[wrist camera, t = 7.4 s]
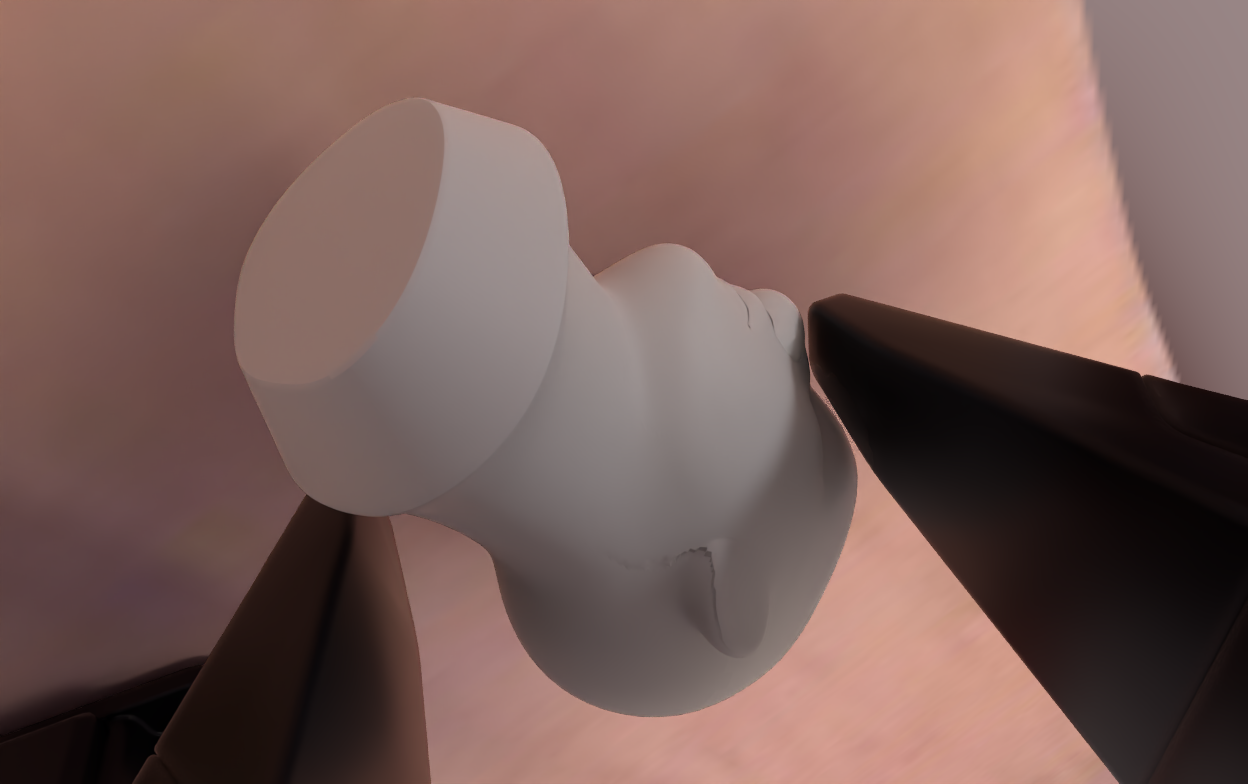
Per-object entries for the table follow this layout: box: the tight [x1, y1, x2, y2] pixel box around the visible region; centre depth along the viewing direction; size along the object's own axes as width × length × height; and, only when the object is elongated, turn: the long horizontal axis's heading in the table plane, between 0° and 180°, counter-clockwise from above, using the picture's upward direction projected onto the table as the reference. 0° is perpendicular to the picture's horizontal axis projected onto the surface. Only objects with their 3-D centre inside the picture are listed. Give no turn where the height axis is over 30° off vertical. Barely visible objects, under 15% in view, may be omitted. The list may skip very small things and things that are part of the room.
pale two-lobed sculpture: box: [234, 97, 857, 717], centre depth 9 cm, size 4×8×5 cm
